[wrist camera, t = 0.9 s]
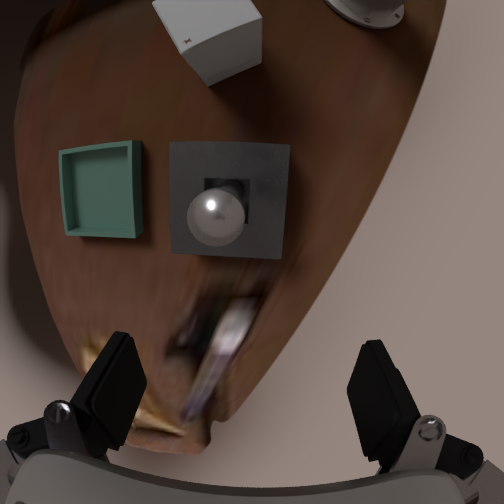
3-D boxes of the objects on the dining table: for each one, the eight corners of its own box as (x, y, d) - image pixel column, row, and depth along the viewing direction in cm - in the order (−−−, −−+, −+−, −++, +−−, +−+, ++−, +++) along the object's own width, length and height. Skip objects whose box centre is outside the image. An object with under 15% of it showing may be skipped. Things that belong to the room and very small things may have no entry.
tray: (70, 149, 30) (58, 150, 28) (141, 140, 30) (132, 140, 28) (75, 229, 35) (65, 235, 32) (143, 231, 35) (135, 238, 32)
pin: (213, 174, 31) (186, 189, 19) (250, 175, 31) (245, 191, 19) (212, 210, 32) (187, 244, 21) (248, 212, 32) (243, 247, 21)
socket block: (184, 143, 30) (169, 142, 25) (284, 145, 30) (290, 144, 25) (185, 236, 35) (171, 253, 29) (277, 241, 35) (281, 259, 29)
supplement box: (263, 63, 27) (265, 19, 15) (207, 88, 28) (177, 56, 16) (238, 21, 24) (227, -33, 12) (184, 44, 25) (148, 2, 14)
